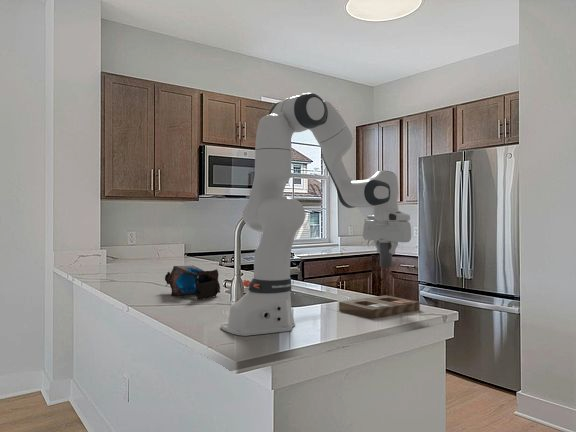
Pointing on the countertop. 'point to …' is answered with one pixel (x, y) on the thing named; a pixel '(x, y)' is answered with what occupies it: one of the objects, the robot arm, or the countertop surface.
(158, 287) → the countertop surface
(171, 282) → the lantern
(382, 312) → the socket plate
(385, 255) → the plug
